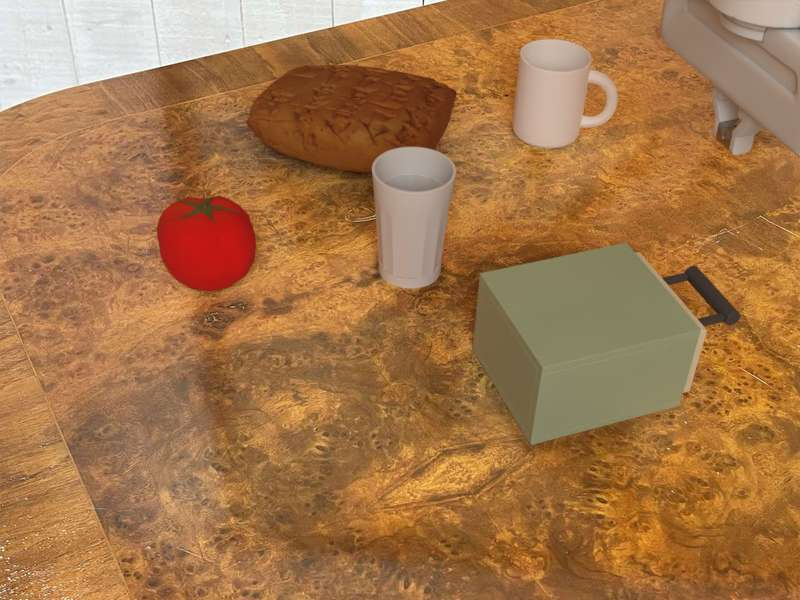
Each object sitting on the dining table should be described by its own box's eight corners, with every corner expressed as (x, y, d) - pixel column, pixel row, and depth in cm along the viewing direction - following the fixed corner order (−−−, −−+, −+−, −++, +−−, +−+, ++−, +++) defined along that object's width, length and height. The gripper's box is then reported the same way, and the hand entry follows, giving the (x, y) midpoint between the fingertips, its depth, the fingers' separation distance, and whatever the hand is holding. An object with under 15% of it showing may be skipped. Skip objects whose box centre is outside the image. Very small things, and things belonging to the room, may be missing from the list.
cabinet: (610, 317, 103) (626, 242, 97) (679, 406, 94) (701, 329, 88) (472, 349, 99) (479, 273, 93) (530, 445, 90) (542, 367, 84)
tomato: (227, 317, 102) (220, 247, 96) (138, 285, 105) (127, 215, 99) (277, 263, 108) (273, 195, 103) (192, 235, 111) (184, 167, 106)
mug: (613, 125, 131) (628, 48, 124) (606, 160, 125) (621, 81, 118) (517, 110, 133) (526, 34, 126) (505, 144, 127) (514, 66, 120)
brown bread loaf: (465, 137, 128) (470, 77, 123) (410, 212, 116) (413, 149, 111) (301, 96, 134) (299, 37, 129) (232, 163, 122) (227, 101, 117)
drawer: (673, 300, 104) (688, 240, 99) (740, 378, 96) (760, 317, 91) (498, 341, 99) (505, 280, 94) (552, 427, 91) (563, 364, 86)
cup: (354, 264, 108) (354, 164, 101) (413, 235, 112) (418, 137, 105) (405, 304, 104) (409, 203, 96) (465, 273, 108) (473, 173, 100)
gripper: (907, 37, 70) (846, 209, 79) (731, -76, 85) (696, 80, 93) (827, 50, 68) (774, 225, 77) (662, -67, 83) (633, 91, 92)
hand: (730, 145), depth 85 cm, fingers closed
